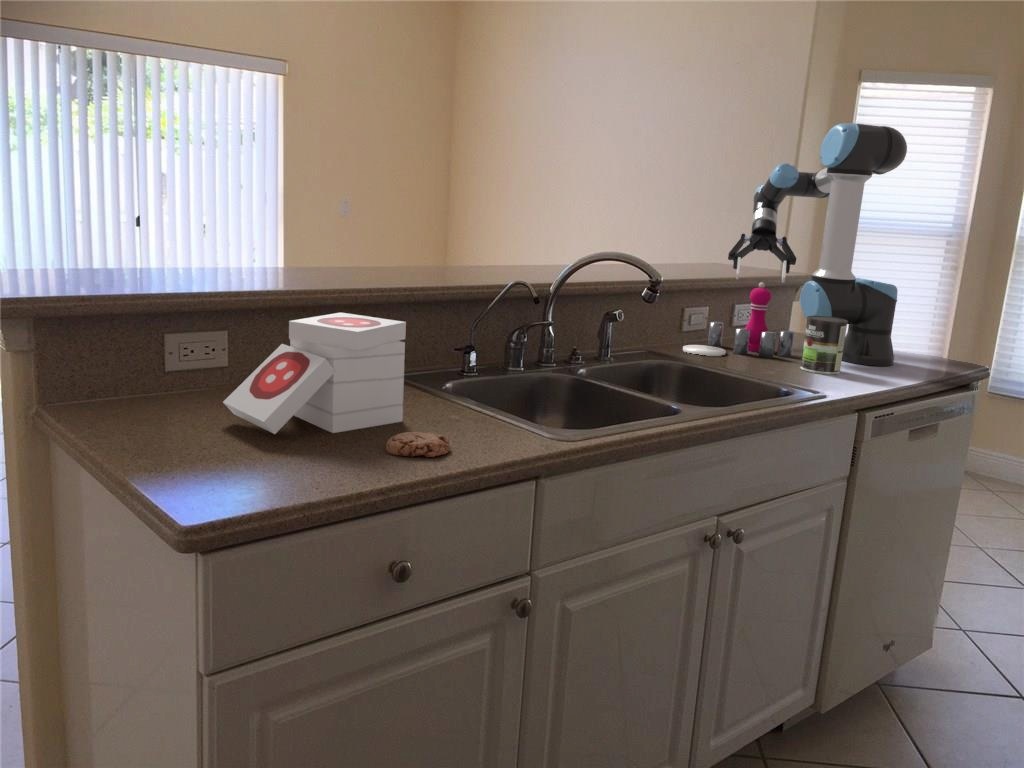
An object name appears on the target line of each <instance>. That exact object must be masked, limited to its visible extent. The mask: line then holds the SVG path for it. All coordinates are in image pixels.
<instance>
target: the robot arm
mask: <svg viewBox="0 0 1024 768" xmlns="http://www.w3.org/2000/svg"><path fill="white" fill-rule="evenodd" d="M819 152H820V153H819V157H820V163H821V164H822V165H823V166H824V167H825V168H823V169H821V170H819V171H816V172H805V171H799V170H798V168H796V166H794V165H791V164H790V163H788V162H783V163H780V164H778V165H777V166H776V167H775V168H774V170H773V171H772V172H771V173H770V174H769V177H768V179H767V181H766V182H765V183H764V184H762V185H760V186H758V187H756V189H755V192H754V195H753V209H752V222H751V223H752V224H751V225H752V226H751V231H750V234H751V235H750V236H749V235H748V236H747V235H746V233H741V235H740V238H739V240H738V241H736V242H737V243H735V245H734V246H733V247H732V249H731V250H730V251H729V252H728V255H727V260H728V261H732V262H733V263H732V266H733V267H732V268H733V269H734V270H736V276H735V280H739V277H740V268H741V260H742V259H743V258H744V257H746V256H747V255H748V254H750V253H752V252H754V251H755V250H757V251H764V252H768V251H769V252H770V253H771V254H774V255H775V257H776V258H777V259H779V260H780V262H782V263H783V264H782V272H781V283H782V284H784V283H785V282H786V275H787V274H789V273H790V268H791V265H792V266H794V265H796V263H797V259H798V258H797V256H796V255H795V253H794V251H793V250H792V249H791V247H790V244H789V243H788V240H787V236H782V238H778V237H777V225H778V224H777V223H778V212H779V211H778V210H779V206H780V205H781V203H782V202H783V201H784V199H785V198H786V197H787V196H788V197H801V198H802V197H804V198H817V199H828V202H827V203H828V204H827V208H826V216H825V223H824V228H823V229H824V230H823V236H822V245H821V250H820V256H819V265H818V268H817V269H816V270H815V271H814V272H812V274H811V280H809V281H806V282H805V283H804V284H803V287H802V288H801V290H800V294H799V304H800V309H801V311H802V313H803V316H804V317H805V318H806V319H807V316H829V317H836V318H841V319H845V320H847V321H848V324H847V327H848V328H847V331H846V335H845V341H844V347H843V354H842V361H843V362H844V361H845V362H848V363H852V364H858V365H865V366H873V367H874V366H876V367H889V366H893V365H894V363H895V354H894V348H893V342H892V331H893V325H894V320H895V319H894V318H895V312H896V306H897V303H898V287H897V286H896V285H895V284H892V283H886V282H881V281H876V280H871V279H866V278H862V277H861V278H860V277H856V276H855V275H854V274H853V271H852V269H853V261H854V254H855V249H856V242H857V236H858V228H859V222H860V215H861V209H862V208H861V207H862V202H863V195H864V190H865V183H866V182H867V181H868V180H870V179H871V178H872V176H873V175H878V176H879V175H880V176H881V175H885V174H887V173H889V172H892V171H893V170H894V171H895V169H897V168H899V166H901V164H902V163H903V162H904V160H905V159H906V157H907V152H908V145H907V141H906V139H905V137H904V135H903V134H902V133H901V132H900V131H899V130H897V129H896V128H894V127H891V126H886V125H871V124H863V123H855V122H851V123H848V122H847V123H844V122H843V123H838V124H836V125H834V126H833V127H831V128H830V130H829V131H828V132H827V134H826V135H825V136H824V138H823V140H822V144H821V147H820V151H819ZM747 242H749V243H748V244H747V245H746V246H744V244H746V243H747ZM777 244H778V245H779V246H778V245H777ZM743 246H744V247H743ZM742 247H743V248H742ZM780 247H781V248H780Z"/></svg>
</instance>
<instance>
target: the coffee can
mask: <svg viewBox="0 0 1024 768" xmlns="http://www.w3.org/2000/svg"><path fill="white" fill-rule="evenodd" d="M848 325H849V324H848V321H847V320H845V319H841V318H836V317H829V316H807V318H806V327H805V334H804V340H803V348H802V355H801V362H800V367H799V368H800V369H801V370H802V371H804V372H807V373H812V374H819V375H827V376H828V375H829V376H832V375H835V376H836V375H839V374H840V373H841V365H842V361H843V360H842V354H843V347H844V341H845V336H846V334H847V329H848V328H847V327H848Z"/></svg>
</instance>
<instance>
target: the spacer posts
mask: <svg viewBox="0 0 1024 768" xmlns="http://www.w3.org/2000/svg"><path fill="white" fill-rule="evenodd" d="M724 325H725V323H724V322H720V321H710V322H709V330H708V337H707V346H708V345H709V346H714V347H718V348H722V343H723V335H724V327H725V326H724ZM734 334H735V335H734V341H733V342H734V343H733V351H732V353H733V354H734V353H735V355H741V356H743V355H745V356H746V355H748V352H749V350H748V344H749V336H750V330H749V329H745V327H744V328H741V327H737V328H735V332H734ZM778 335H779V336H778V342H777V344H778V345H777V350H776V351H777V353H776V356H778V357H783V358H791V357H792V353H793V345H794V339H795V338H794V337H795V331H791V330H779V334H778ZM776 338H777V332H773V331H769V330H768V331H762V332H761V341H760V349H759V352H758V358H759V357H760V358H762V359H763V358H764V359H774V353H775V344H776Z"/></svg>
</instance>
